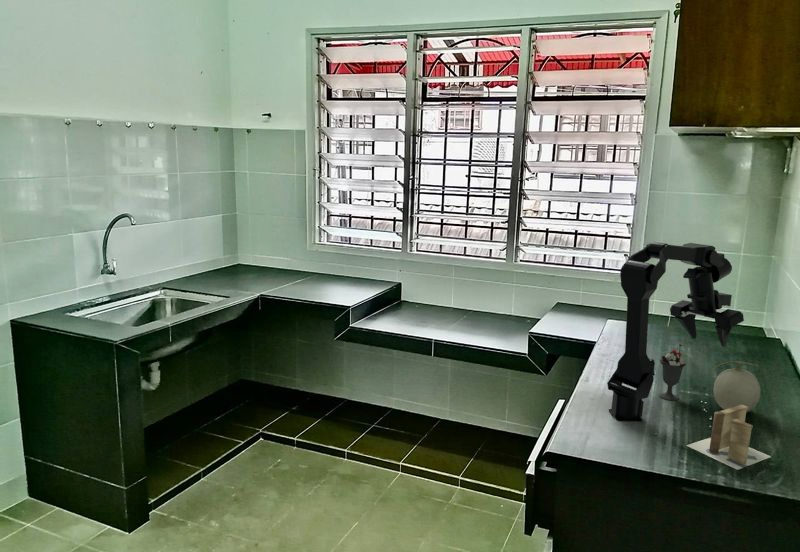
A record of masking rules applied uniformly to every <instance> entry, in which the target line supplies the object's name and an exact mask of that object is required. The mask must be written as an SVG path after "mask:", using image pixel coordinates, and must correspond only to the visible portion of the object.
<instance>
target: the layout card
mask: <svg viewBox="0 0 800 552" xmlns="http://www.w3.org/2000/svg"><path fill="white" fill-rule="evenodd" d="M710 442H711V437H707V438H705V439H702V440H699V441H695V442H693V443H689V444H687V445H686V447H688V448H690V449H692V450H695V451H696V452H698V453H701V454H703V455H705V456H707V457H709V458H712V459H714V460H716V461H718V462H720V463H722V464H724V465H727V466H729V467H731V468H733V469H735V470H737V471H738V470H741V469H744V468H746V467H748V466H751V465H754V464H756V463H760V462H761V461H764V460H767V459H770V458H772V456H771V455H768V454H766V453H763V452H762V451H758V450H756V449H755V448H752V447H750V446H749V449H748V456H747V462H746V464H744V465H743V464H741V463H739V462H737V461H734V460H732V459H730V458H728V452H729V447H726V448H723V449H720V450H719V451H718V454H713V453H711V452H709V449H710Z"/></svg>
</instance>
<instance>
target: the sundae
mask: <svg viewBox="0 0 800 552" xmlns="http://www.w3.org/2000/svg"><path fill="white" fill-rule="evenodd" d="M682 346H683V345H682V344H679V345H678V347H677V348H676V349H672V350H671V351H670V352H668V353H667V354H665V355H661V356H660V357H661V359H659V362H660V365H661V367H662V368H661V369H662V372H661V373H662V380H663V382H664V383H665V384H666V385H667V389H666V392H662V393H659V395H658V396H659V397H660V398H661V399H663V400H666V401H670V402H671V401H672V402H674V401H679V399H680V398H679V397H678V396H677V395H676V394H673V386H676V385H677V384H679V381H680V379H681V376H682V373H683V369H684V367H686V366H687V363H685V361H684V358H683V357H682V353H681V347H682ZM678 348H679V350H678ZM677 350H678V352H677Z"/></svg>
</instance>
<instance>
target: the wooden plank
mask: <svg viewBox="0 0 800 552" xmlns="http://www.w3.org/2000/svg"><path fill="white" fill-rule="evenodd" d="M723 416H724V414H723V413H721V412H719V411H715V412H714V415H713V419H712V420H713V421H712V429H711V437H710V438H711V442H710V449H709V452H711V453H713V454H718V451H719V444H720V437H721V430H722V423H723ZM732 423H733V424H732V431H731V438H730V445H729V452H728V458H730V459H732V460H734V461H737V462H739V463H741V464H743V465H744V464H746V462H747V456H748V449H749V447H750V442H751V434H752V429H753V428H754V427H753V426H754V425H753V424H750V423H747V422H746V421H745V422H743V421H740V420H738V419H734V420H732Z"/></svg>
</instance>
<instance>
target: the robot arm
mask: <svg viewBox="0 0 800 552" xmlns="http://www.w3.org/2000/svg"><path fill="white" fill-rule="evenodd" d="M716 249H717V248H716V246H714V245H710V244H709V245H708V244H702V243H694V242H689V243H684V244H682V245H675V244H668V243H665V242H659V241H651V242H648V243H647V244H646V246H645V247H644V248H643V249H641V250H639V251H637V252H635V253H633V254H632V255H630V256H629V257H628V259H627V260H625V262H624V263H623V264H622V266H621V267H620V270H619V272H620V273H619V275H620V286H621V289H622V290H623V292H624V294H625V296H626V298H627V301H626V319H625V320H626V324H625V344H624V353H623V355H622V356H621V357H620V359H619V360H618V361H617V366H616V369H615V371H614V372H613V374H612V375H611V377H610V378H609V380H608V381H607V383H606V385H607V391H611V392H612V399H611V400H612V401H611V408H609V409H608V412H609V413H610V415H611V416H612V417H613V418H614V420H615V421H616V422H638V423H639V422H640V423H641V422H642V423H643V418H642V417H643V414H644V413H643V411H644V403H645V402H644V401H643V400H645V399H647V398H649V396H650V392H651V390H652V386H653V383H654V376H655V375H656V374H655V365H656V363H655V360H654V359H653V358H650V357H649V356H648V354H647V351H648V350H647V349H648V348H647V347H648V331H649V330H648V329H649V312H650V311H649V310H650V298H651V297H652V296H653V295H654V293H655V291H656V290H657V289H658V284H659V280H660V279H662V277H663V275H664V274H665V273H666V272H667V271H666V267H667V266H666V265H667V262H668V261H669V260H671V261H680V262H681V263H683V264H686V265H692V266H695V267H693V268H691V267H689V268H687V269H686V271H685V272H684V274H683V275H682V276H683V278H684V279H687V280H688V286H689V292H690V293H688V294H687V295H686V296H687V299H690V300H691V301H690V300H689V301H688V300H684V299H682V300H680V301H678V302H675V303H674V304H672V305H671V306H670V307H669V312H670V316H671V317H674V319H675V320H677V321H678V322H679V324H680V325H681V326H682V327H683V328H684V329H685V331H686V332H687V334H688V335H689V336H690V337H691V339H693V340H695V339H697V328H696V327H697V325H696V316H699V317H705V318H710V319H713V320H714V323H715V324H716V325H715V326H714V328H715V332H716V335H717V337H718V340H719V342H720V345H721V347H726V345H727V343H728V340H729V337H730V333H731V331H732V328H734V327H735V326H737V325H739V324H741V323H742V322H744V321H745V319H744V313H743V312H742V311H740V310H737V309H736V310H735V309H729V308H727V309H725V310H723V311H722V312H720V311H717V310H721V309H722V308H723V306H724V307H725V306H726V307H731V306H732V304H731V303H732V297H733V295H732V294H729V293H725V292H724V293H723V292H719V291H718V290H717V289H715V288H714V284H715V283H717V282H719V281H721V280H722V279H724V278H725V277H727V276H728V275H730V274H731V273H732V271H733V266H732V265H731V262H730V261H729V260H728V258H726V257H725V253H721V252H717V250H716ZM651 259H656V260H659V261H658V262H657V263H656V264H653V263H647V262H648V261H650V260H651ZM623 384H624V385H623ZM628 386H629V387H628ZM631 387H632V388H631ZM633 388H634V389H633Z"/></svg>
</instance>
